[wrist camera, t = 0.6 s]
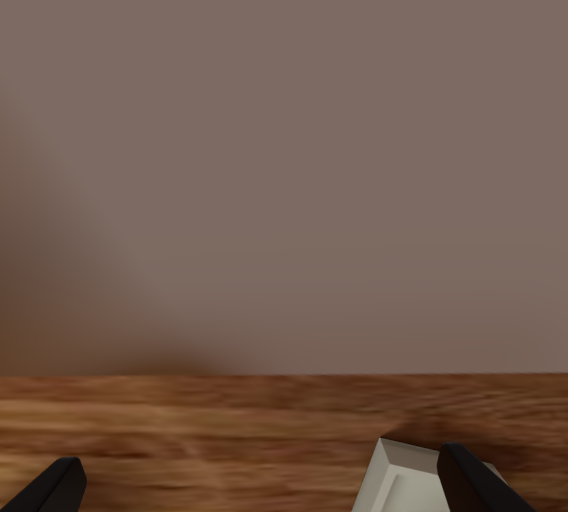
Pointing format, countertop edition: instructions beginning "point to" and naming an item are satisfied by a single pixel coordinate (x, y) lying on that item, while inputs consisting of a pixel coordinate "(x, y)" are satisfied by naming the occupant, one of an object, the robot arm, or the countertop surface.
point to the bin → (403, 480)
